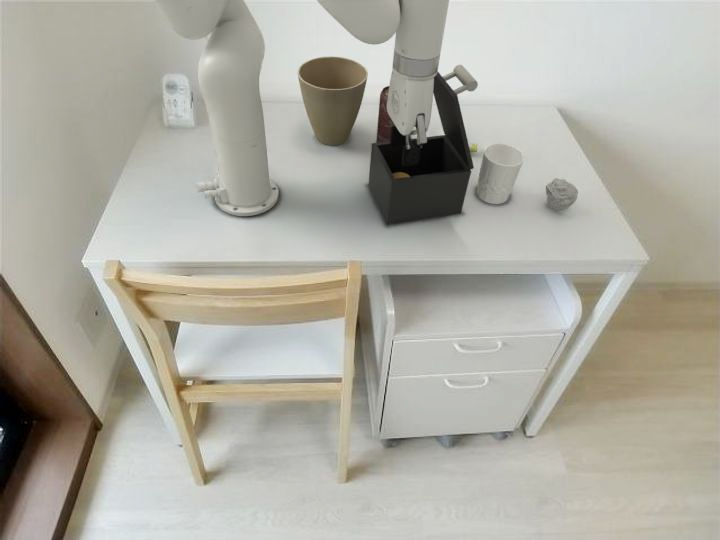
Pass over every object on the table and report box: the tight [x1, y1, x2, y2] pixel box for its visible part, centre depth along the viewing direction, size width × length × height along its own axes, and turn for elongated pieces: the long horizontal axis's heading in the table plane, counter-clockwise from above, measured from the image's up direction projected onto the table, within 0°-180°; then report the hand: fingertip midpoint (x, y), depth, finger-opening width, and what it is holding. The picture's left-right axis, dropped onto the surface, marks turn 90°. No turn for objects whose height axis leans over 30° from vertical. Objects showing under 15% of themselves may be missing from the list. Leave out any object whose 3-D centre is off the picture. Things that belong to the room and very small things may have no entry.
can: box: [375, 85, 392, 143], centre depth 115 cm, size 6×6×14 cm
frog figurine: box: [545, 177, 579, 212], centre depth 105 cm, size 6×7×7 cm
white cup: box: [476, 142, 525, 205], centre depth 106 cm, size 8×8×10 cm
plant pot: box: [297, 55, 369, 146], centre depth 116 cm, size 15×15×16 cm
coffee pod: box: [393, 172, 410, 178], centre depth 104 cm, size 4×4×5 cm
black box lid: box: [433, 64, 479, 171], centre depth 95 cm, size 17×13×6 cm
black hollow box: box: [367, 134, 472, 226], centre depth 103 cm, size 16×13×10 cm
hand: (403, 153), depth 98 cm, fingers open, 6 cm apart
